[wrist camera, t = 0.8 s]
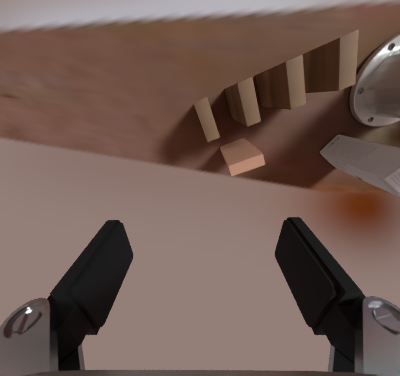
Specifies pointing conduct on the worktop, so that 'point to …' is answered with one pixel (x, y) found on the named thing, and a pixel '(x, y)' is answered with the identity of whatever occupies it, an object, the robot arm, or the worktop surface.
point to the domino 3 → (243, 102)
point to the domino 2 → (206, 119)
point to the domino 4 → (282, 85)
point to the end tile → (241, 156)
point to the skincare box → (366, 161)
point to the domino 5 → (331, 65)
